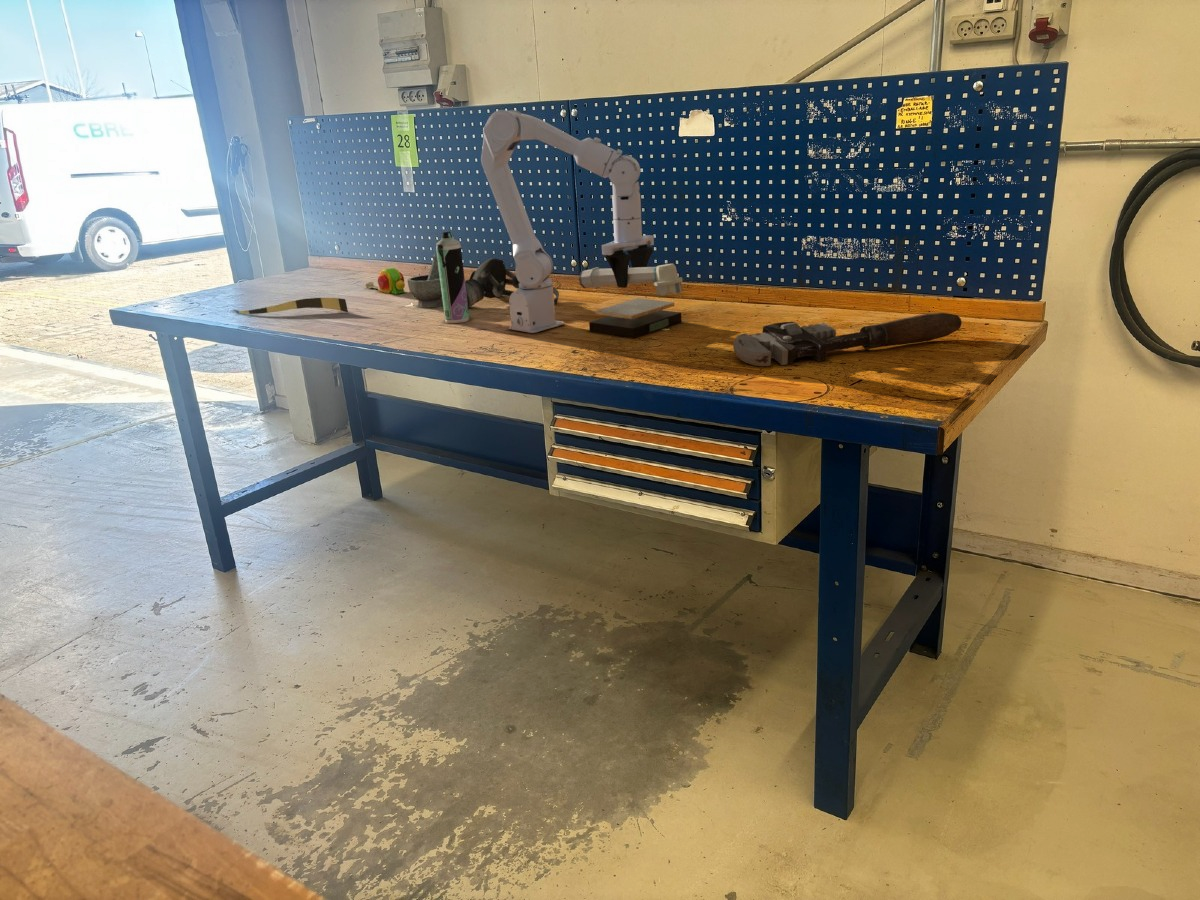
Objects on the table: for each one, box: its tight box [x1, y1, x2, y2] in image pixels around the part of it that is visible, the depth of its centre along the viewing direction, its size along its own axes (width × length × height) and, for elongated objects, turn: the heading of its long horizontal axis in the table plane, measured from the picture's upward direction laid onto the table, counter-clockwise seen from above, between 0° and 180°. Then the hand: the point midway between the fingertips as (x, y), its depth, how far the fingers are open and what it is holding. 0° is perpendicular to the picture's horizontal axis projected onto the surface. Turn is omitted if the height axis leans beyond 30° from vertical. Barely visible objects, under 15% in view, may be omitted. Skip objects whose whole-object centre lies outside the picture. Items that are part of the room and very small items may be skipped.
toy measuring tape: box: [364, 267, 406, 295], centre depth 237 cm, size 6×20×7 cm, turn 42°
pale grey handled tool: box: [578, 263, 684, 296], centre depth 178 cm, size 5×7×25 cm
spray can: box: [435, 231, 470, 324], centre depth 192 cm, size 6×6×20 cm
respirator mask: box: [465, 257, 560, 309], centre depth 211 cm, size 20×22×15 cm
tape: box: [231, 297, 349, 315], centre depth 216 cm, size 6×38×4 cm, turn 69°
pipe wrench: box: [732, 312, 963, 367], centre depth 154 cm, size 43×13×5 cm, turn 106°
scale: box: [588, 309, 682, 339], centre depth 179 cm, size 16×12×2 cm
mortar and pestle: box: [407, 253, 443, 309], centre depth 213 cm, size 11×9×12 cm
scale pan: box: [594, 297, 675, 319], centre depth 178 cm, size 14×10×2 cm
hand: (630, 284), depth 179 cm, fingers closed on pale grey handled tool, 5 cm apart
